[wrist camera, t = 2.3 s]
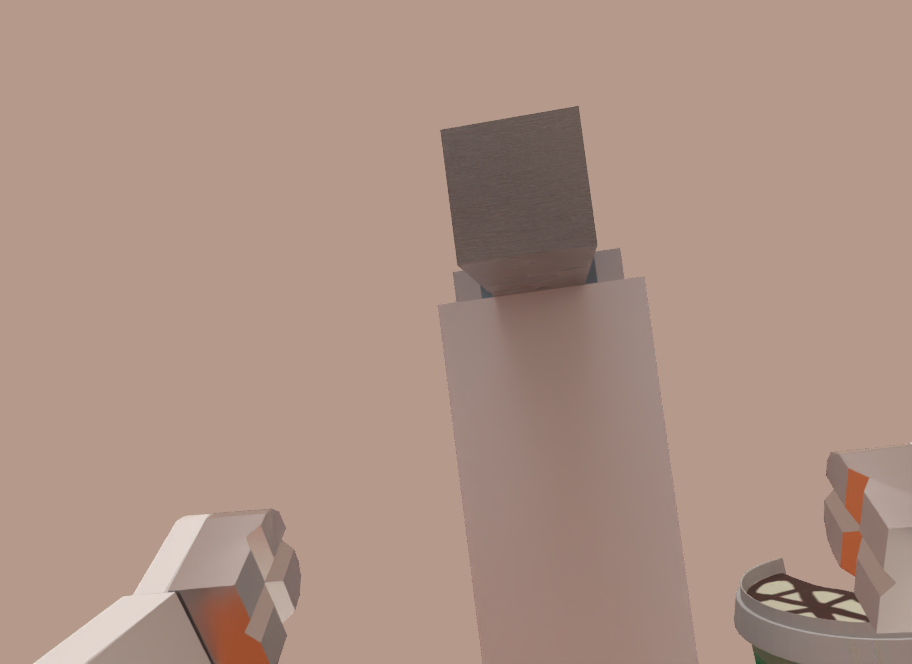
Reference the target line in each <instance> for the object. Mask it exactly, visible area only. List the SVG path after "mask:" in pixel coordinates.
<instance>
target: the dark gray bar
mask: <svg viewBox="0 0 912 664" xmlns="http://www.w3.org/2000/svg"><path fill="white" fill-rule="evenodd" d="M441 138H442V146H443V154H444V162H445V170H446V178H447V186H448V194H449V201H450V209H451V217H452V225H453V233H454V241H455V249H456V256H457V264H458V266H459V267H460V268H461V269H462V270H464V271H465V272H466V273H467V274H468V275H469V276H470V277H472V278H473V279H474V280H475V281H476V282H477V283H479V284H480V285H481V286H482V287H483V288H484V289H486V290H487V291H488V292H489V293H490V294H491V295H492V296H494V297H499V296H506V295H513V294H521V293H528V292H535V291H542V290H549V289H557V288H564V287H571V286H578V285H585V282H586V279H587V276H588V273H589V269H590V266H591V263H592V260H593V257H594V254H595V251H596V248H597V239H596V231H595V224H594V217H593V210H592V202H591V195H590V187H589V180H588V173H587V165H586V158H585V151H584V144H583V136H582V128H581V122H580V114H579V107H578V106H576V107H571V108H565V109H559V110H553V111H547V112H541V113H536V114H530V115H524V116H519V117H513V118H507V119H501V120H495V121H489V122H484V123H478V124H472V125H466V126H461V127H455V128H449V129H443V130H441Z"/></svg>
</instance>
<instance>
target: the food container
mask: <svg viewBox="0 0 912 664" xmlns="http://www.w3.org/2000/svg"><path fill="white" fill-rule="evenodd" d="M734 622H735V627H736V629H737V631H738V632H739V634H740V635H741V636H742V637H743V638H744V639H745V640H747V641H748V642H749V643H751V644H752V647H753V651H754V656H755V660H756V664H912V632H901V633H877V634H876V632H875V630H874V628H873V626H872V625H871V623H870V621H869V619H868V617H867V616H866V614H865V612H864V610H863V608H862V607H861V605H860V603H859V601H858V599H857V597H856V596H855V594H854V593H853V592H849V591H844V590H839V589H831V588H825V587H821V586H816V585H812V584H810V583H807V582H804V581H801V580H798V579H796V578H793V577H790V576H788V575H786V572H785V567H784V563H783V559H782V558H778V559H774V560H770V561H767V562H764V563H762V564H759V565H757V566H755V567H753V568H751V569H750V570H748V571H747V572H745V574H744V575H743V576H742V577H741V580H740V587H739V588H738V590H737V593H736V601H735V615H734Z"/></svg>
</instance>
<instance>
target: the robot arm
mask: <svg viewBox="0 0 912 664" xmlns="http://www.w3.org/2000/svg"><path fill="white" fill-rule="evenodd" d="M826 476H827V478H828V479H829V481H830V483H831V484H832V486H833V488H834V490H833V491H832V492H831V494H830V495H829V496H828V497H827V498H826V499H825V500H824V522H825V527H826V533H827V538H828V541H829V544H830V547H831V549H832V552H833V554H834V556H835V558H836V560H837V562H838V564H839V566H840V567H841V568H842V569H844V570H845V571H847V572H849V573H850V574H852V575H853V576H855V588H854V594H855V596H856V597H857V599H858V601H859V603H860V605H861V607H862V608H863V610H864V612H865V614H866V616H867V617H868V619H869V621H870V623H871V625H872V626H873V628H874V630H875V632H876V634H877V633H901V632H912V443H908V444H902V445H893V446H884V447H875V448H865V449H856V450H847V451H837V452H831V453H830V456H829V458H828V460H827V470H826ZM285 529H286V527H285V525H284V522H283V520H282V518H281V515H280V513H279V512H278V511H276V510H274V509H262V510H248V511H236V512H223V513H214V514H203V515H191V516H184V517H182V518H181V519H179V520H177V521H176V523H175V524H174V526H173V528H172V529H171V531H170V533H169V535H168V536H167V538H166V540H165V541H164V544H163V545H162V546H161V548H160V550H159V552H158V553H157V555H156V557H155V558H154V560H153V562H152V563H151V565H150V567H149V568H148V570H147V572H146V573H145V575H144V577H143V579H142V580H141V582H140V584H139V585H138V587H137V589H136V591H135V592H134V594H133V595H132V596H123V597H122V598H120V599H119V600H118V601H116V602H115V603H114V604H112V605H111V606H110V607H108V608H107V609H106V610H104V611H103V612H102V613H100V614H99V615H98V616H96V617H95V618H94V619H92V620H91V621H90V622H89V623H87V624H86V625H84V626H83V627H82V628H80V629H79V630H78V631H76V632H75V633H74V634H72V635H71V636H70V637H68V638H67V639H66V640H64V641H63V642H61V643H60V644H59V645H58V646H56V647H55V648H54V649H52V650H51V651H49V652H48V653H47V654H46V655H44V656H43V657H41V658H40V659H39V660H37V661H36V662H35V663H34V664H278V661H279V658H280V655H281V652H282V649H283V646H284V643H285V640H286V637H287V635H286V632H285V630H284V627H283V625H282V623H283V622H284V621H285V620H286V619H287V618H288V617H289V616H290V615H291V614H292V613H293V612H294V611H295V609H296V606H297V602H298V599H299V596H300V582H301V581H300V580H301V574H300V568H299V562H298V559H297V556H296V553H295V550H294V549H293V548H292V547H290V546H289V545H287V544H286V543H285V542H283V541H282V537H283V534H284V532H285Z"/></svg>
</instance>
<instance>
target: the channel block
mask: <svg viewBox="0 0 912 664" xmlns="http://www.w3.org/2000/svg"><path fill="white" fill-rule="evenodd" d="M453 277H454V285H455V293H456V301H457V302H455V303H448V304H441V305H438V309H439V317H440V325H441V333H442V341H443V349H444V357H445V365H446V373H447V382H448V389H449V398H450V406H451V414H452V421H453V430H454V438H455V446H456V454H457V462H458V470H459V478H460V486H461V494H462V502H463V511H464V518H465V527H466V534H467V543H468V551H469V559H470V567H471V575H472V583H473V591H474V599H475V607H476V615H477V623H478V631H479V639H480V647H481V656H482V664H698V658H697V651H696V643H695V636H694V629H693V622H692V615H691V608H690V600H689V593H688V586H687V579H686V572H685V564H684V557H683V550H682V543H681V536H680V528H679V521H678V514H677V507H676V500H675V493H674V486H673V478H672V471H671V464H670V457H669V449H668V442H667V435H666V428H665V421H664V413H663V406H662V399H661V392H660V385H659V377H658V370H657V363H656V356H655V349H654V342H653V335H652V327H651V320H650V313H649V306H648V298H647V291H646V284H645V277H636V278H629V279H624V273H623V266H622V258H621V251H620V248H617V249H610V250H603V251H597V252H595V254H594V257H593V260H592V263H591V266H590V269H589V273H588V276H587V279H586V282H585V285H578V286H571V287H564V288H557V289H549V290H542V291H535V292H528V293H521V294H513V295H506V296H499V297H494V296H492V295H491V294H490V293H489V292H488V291H487V290H486V289H484V288H483V287H482V286H481V285H480V284H479V283H477V282H476V281H475V280H474V279H473V278H472V277H470V276H469V275H468V274H467V273H466V272H465V271H458V272H453Z"/></svg>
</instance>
